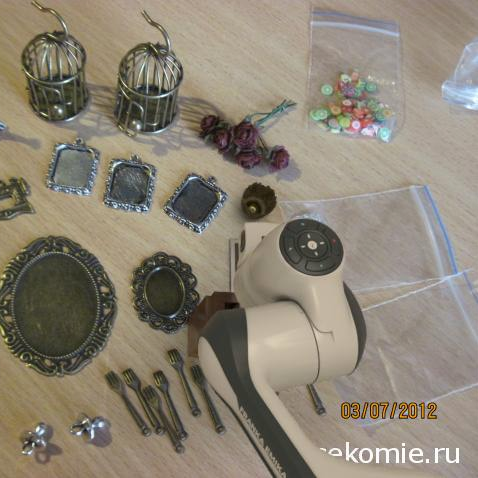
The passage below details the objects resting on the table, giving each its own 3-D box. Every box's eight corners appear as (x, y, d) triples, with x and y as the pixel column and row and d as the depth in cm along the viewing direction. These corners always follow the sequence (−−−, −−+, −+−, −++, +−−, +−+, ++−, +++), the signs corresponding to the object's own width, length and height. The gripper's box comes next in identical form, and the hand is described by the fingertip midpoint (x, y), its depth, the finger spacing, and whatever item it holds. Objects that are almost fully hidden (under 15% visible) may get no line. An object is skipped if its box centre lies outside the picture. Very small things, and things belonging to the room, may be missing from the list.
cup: (271, 205, 126) (282, 190, 118) (260, 232, 123) (270, 219, 116) (241, 192, 126) (250, 176, 119) (229, 218, 124) (238, 204, 116)
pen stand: (226, 358, 113) (259, 338, 90) (187, 356, 112) (211, 336, 89) (225, 320, 116) (258, 290, 92) (188, 318, 115) (211, 287, 92)
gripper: (295, 364, 70) (264, 375, 83) (288, 214, 77) (260, 246, 90) (246, 362, 69) (223, 373, 82) (243, 211, 76) (222, 244, 89)
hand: (242, 306), depth 86 cm, fingers open, 8 cm apart
